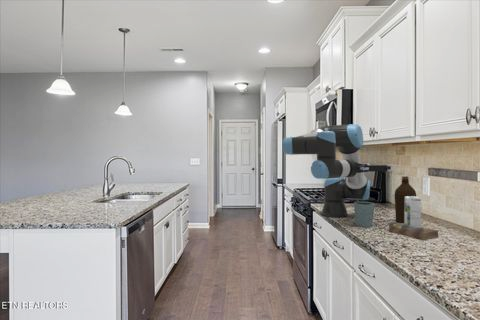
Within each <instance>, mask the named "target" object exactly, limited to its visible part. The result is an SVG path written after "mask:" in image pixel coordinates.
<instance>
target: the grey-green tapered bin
mask: <svg viewBox="0 0 480 320" xmlns="http://www.w3.org/2000/svg"><path fill="white" fill-rule="evenodd" d="M353 207H354V208H353V209H354V210H353V211H354V225H355V226H356V227H359V228H370V227H371V228H372V227H373V223H374V212H375V203H374V202H370V201H354V202H353Z"/></svg>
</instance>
